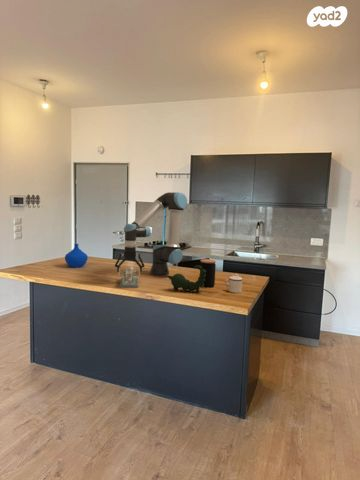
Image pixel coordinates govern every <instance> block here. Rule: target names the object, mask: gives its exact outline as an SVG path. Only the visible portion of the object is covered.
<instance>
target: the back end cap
mask: <svg viewBox="0 0 360 480" xmlns="http://www.w3.org/2000/svg"><path fill="white" fill-rule="evenodd" d="M126 270H127V269H126ZM126 270H123V276H125V279H126ZM136 274H137V270H133V276H136V277H137V275H136ZM133 276H132V279H133Z"/></svg>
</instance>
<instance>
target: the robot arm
mask: <svg viewBox="0 0 360 480" xmlns="http://www.w3.org/2000/svg"><path fill="white" fill-rule="evenodd" d="M187 206H188V198H187V196H186V195H185V194H184V193H183V192H178V191H177V192H174V191H173V192H172V191H171V192H166V193H164V194H161V195H160V196H158V198H156V199H155V200H154V203H153V204H152V205H150V206H149V207H148V208H147V209H146V210H145V211H144V212H143V213H141V215H139V216H138V217H137V218H136V219H135V220H134V221H133V222H132V223H126V224H125V226H124V227H123V232H124V251H123V253H122V252H120V254H119V256H118V258H117V260H116V262H115V264H114V267H115V268H116V269H117V273H118V278H121V266H122V264H124V263H125V262H126V261H134V262H135V263H136V264H137V266H138V278H141V273H142V271H143V268H145V264H144V262H143V259H142V257H141V254H140V253H136V249H137V247H136V245H137V243H136V242H137V238H149V237H150V236H151V233H152V230H151V228H150V227H149V226H146V225H147V224H148V223H149V222H150V221H151V220H152V219H153V218H154V217H156V216H157V215H158V213H160V212H162V211H164V210H166V209H167V210H168V211H169V220H168V221H169V223H168V230H167V231H168V233H167V243H166V244H158V245H157V244H156V245H153V247H152V264H151V267H150V270H149V274H150V275H154V276H169V274H170V270H169V266H168V264H171V265H172V264H173V265H176V264H179V263H180V262H181V260H182V259H183V256H184V255H183V251H182V249H181V245H180V244H179V241H180V231H181V220H182V213H183V212H184V209H185V208H186V207H187ZM123 256H124V258H123V259H122V260H121V258H122V257H123ZM136 257H138V259H139V260H137V259H136ZM120 260H121V262H120ZM119 262H120V263H119Z"/></svg>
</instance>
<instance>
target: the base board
mask: <svg viewBox="0 0 360 480" xmlns="http://www.w3.org/2000/svg"><path fill="white" fill-rule="evenodd" d="M122 279H123V277H120V283H119V288H120V289H129V288H130V289H138V288H139V277H136V281H135V285H122ZM125 281H126V279H125ZM132 281H133V279H132Z"/></svg>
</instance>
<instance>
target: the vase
mask: <svg viewBox="0 0 360 480" xmlns="http://www.w3.org/2000/svg"><path fill="white" fill-rule="evenodd" d="M88 259H89V258H88V255H87V254H86V253H85V252H84V251H83V250H82V249H80V248H79V243H74V247H73V249H71V250H70V251H69V252H68V253H66V254H65V256H64V260H65V263H66V265H67V266H69V267H70V268H82V267H83V266H85V265H86V263H87V261H88Z"/></svg>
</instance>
